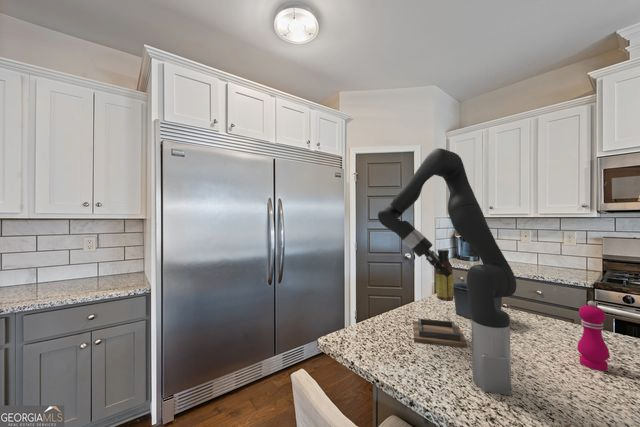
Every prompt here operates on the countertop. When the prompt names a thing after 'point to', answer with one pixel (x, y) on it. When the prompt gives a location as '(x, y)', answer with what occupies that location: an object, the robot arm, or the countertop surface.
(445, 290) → the sauce bottle
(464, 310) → the storage bin
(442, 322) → the socket board
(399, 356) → the countertop surface
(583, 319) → the pepper mill
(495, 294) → the robot arm
